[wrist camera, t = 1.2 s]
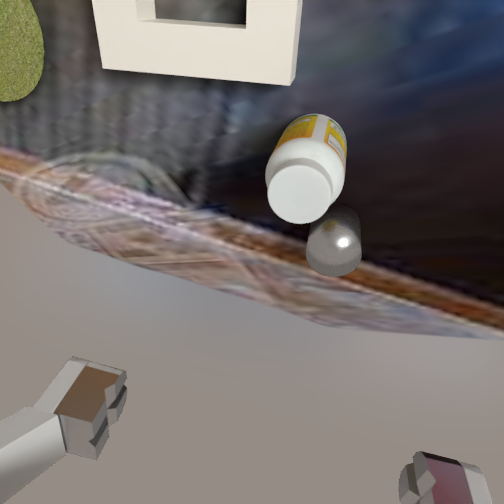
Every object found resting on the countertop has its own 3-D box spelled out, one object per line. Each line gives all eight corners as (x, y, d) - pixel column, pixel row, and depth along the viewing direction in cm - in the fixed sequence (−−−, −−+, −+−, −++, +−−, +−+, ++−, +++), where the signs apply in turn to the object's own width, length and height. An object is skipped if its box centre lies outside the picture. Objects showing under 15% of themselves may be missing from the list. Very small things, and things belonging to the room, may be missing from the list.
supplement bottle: (357, 124, 30) (359, 171, 22) (331, 184, 33) (325, 244, 25) (291, 102, 30) (270, 142, 22) (272, 164, 33) (247, 218, 25)
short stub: (365, 206, 34) (366, 236, 29) (355, 248, 36) (355, 280, 32) (314, 199, 34) (309, 227, 30) (308, 240, 37) (302, 271, 33)
